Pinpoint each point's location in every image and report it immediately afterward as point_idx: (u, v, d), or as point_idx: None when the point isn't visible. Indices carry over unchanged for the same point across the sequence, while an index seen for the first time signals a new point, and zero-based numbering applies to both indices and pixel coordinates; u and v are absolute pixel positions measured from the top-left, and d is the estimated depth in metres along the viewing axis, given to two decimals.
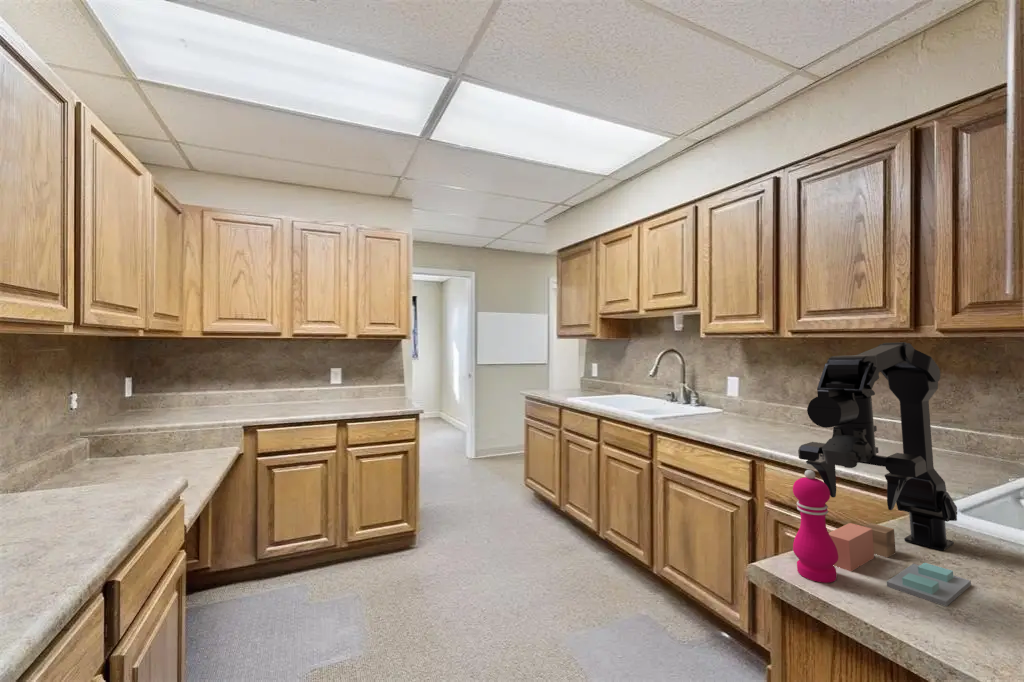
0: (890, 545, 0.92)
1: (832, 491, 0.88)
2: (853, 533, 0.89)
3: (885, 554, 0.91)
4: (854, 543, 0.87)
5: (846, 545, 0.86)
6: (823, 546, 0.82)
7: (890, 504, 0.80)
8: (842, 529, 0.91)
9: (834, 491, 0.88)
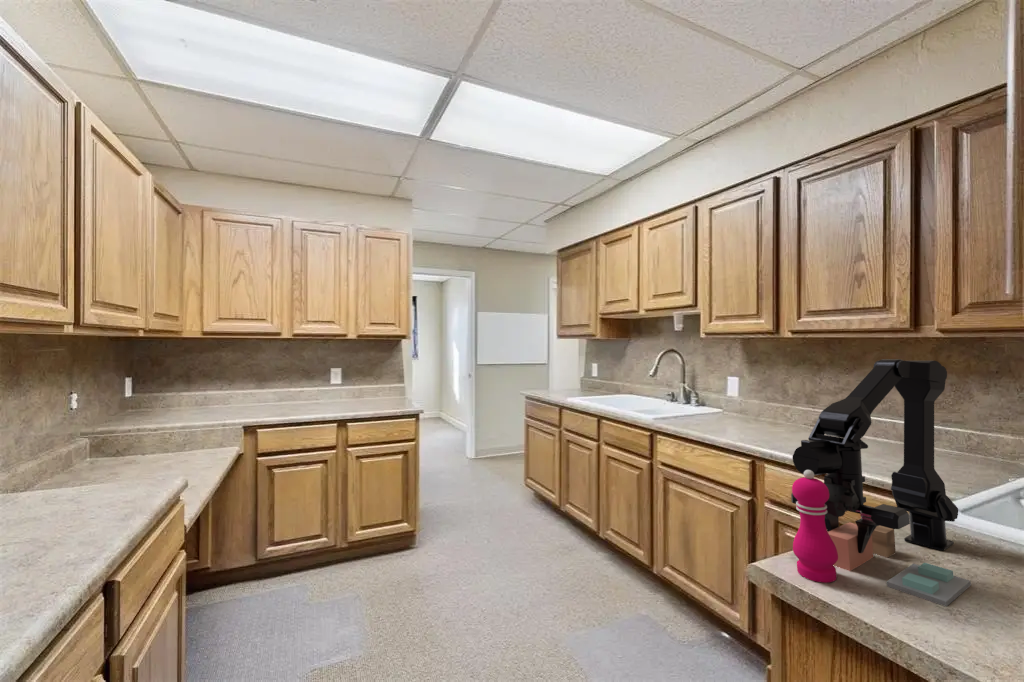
0: (890, 545, 0.92)
1: None
2: (852, 532, 0.89)
3: (885, 554, 0.91)
4: (853, 542, 0.87)
5: (845, 544, 0.86)
6: (823, 546, 0.82)
7: (860, 548, 0.88)
8: (841, 528, 0.91)
9: None
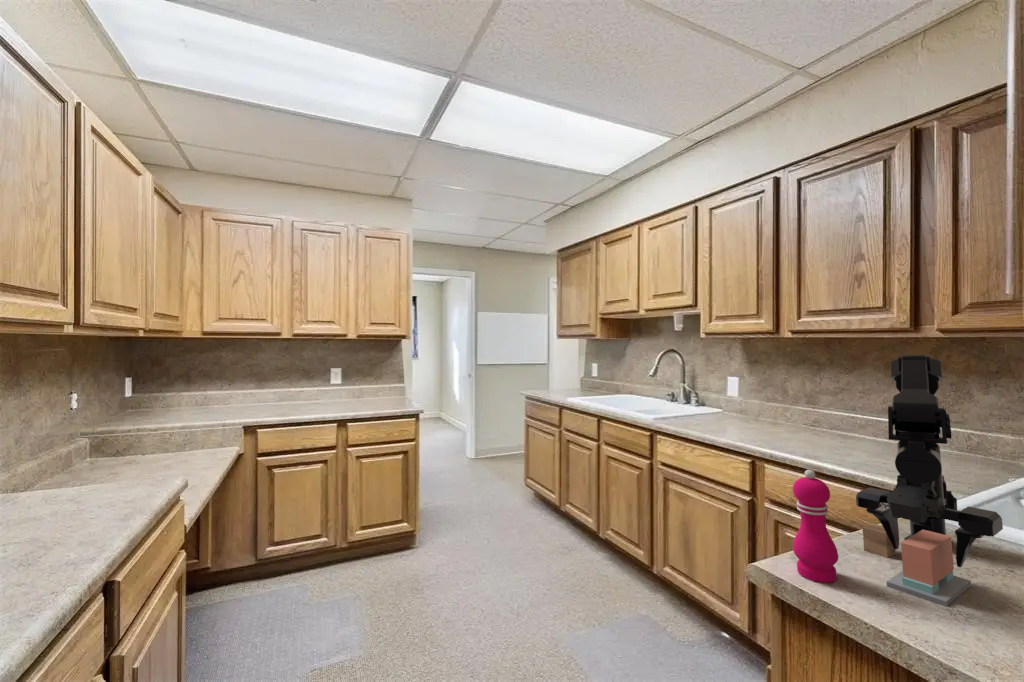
0: (891, 545, 0.92)
1: (895, 543, 0.83)
2: (931, 541, 0.79)
3: (885, 554, 0.91)
4: (935, 553, 0.77)
5: (927, 556, 0.76)
6: (824, 546, 0.82)
7: (959, 561, 0.76)
8: (918, 537, 0.81)
9: (897, 542, 0.84)
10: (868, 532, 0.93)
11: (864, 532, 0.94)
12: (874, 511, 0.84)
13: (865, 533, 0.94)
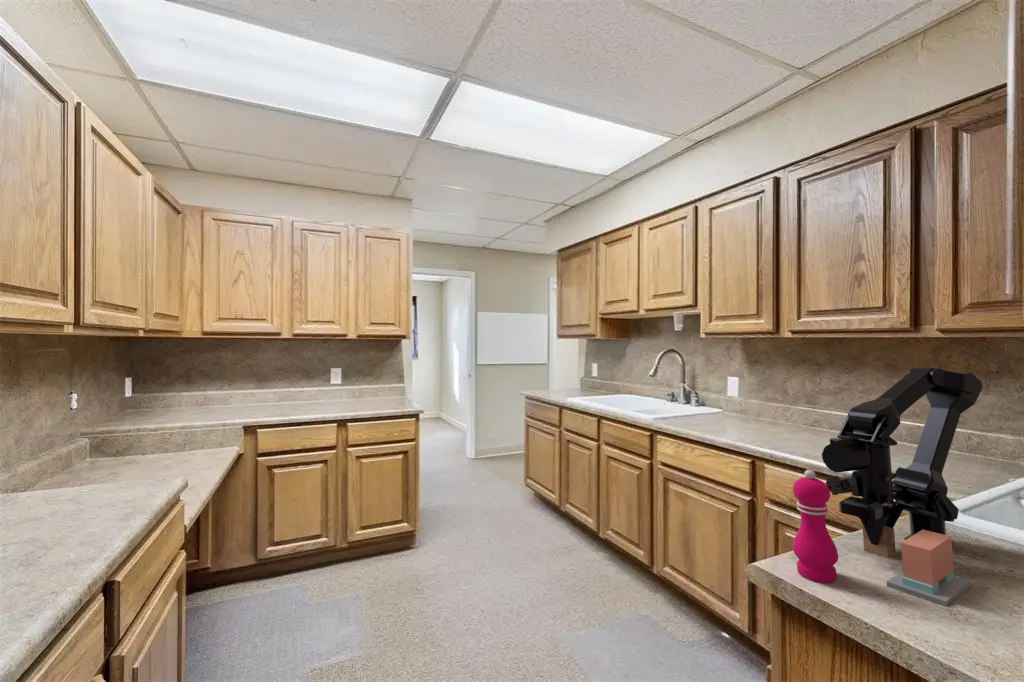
0: (890, 545, 0.92)
1: None
2: (931, 541, 0.79)
3: (885, 554, 0.91)
4: (935, 553, 0.77)
5: (927, 556, 0.76)
6: (824, 546, 0.82)
7: (870, 538, 0.93)
8: (918, 537, 0.81)
9: None
10: None
11: (864, 532, 0.94)
12: None
13: (865, 533, 0.94)
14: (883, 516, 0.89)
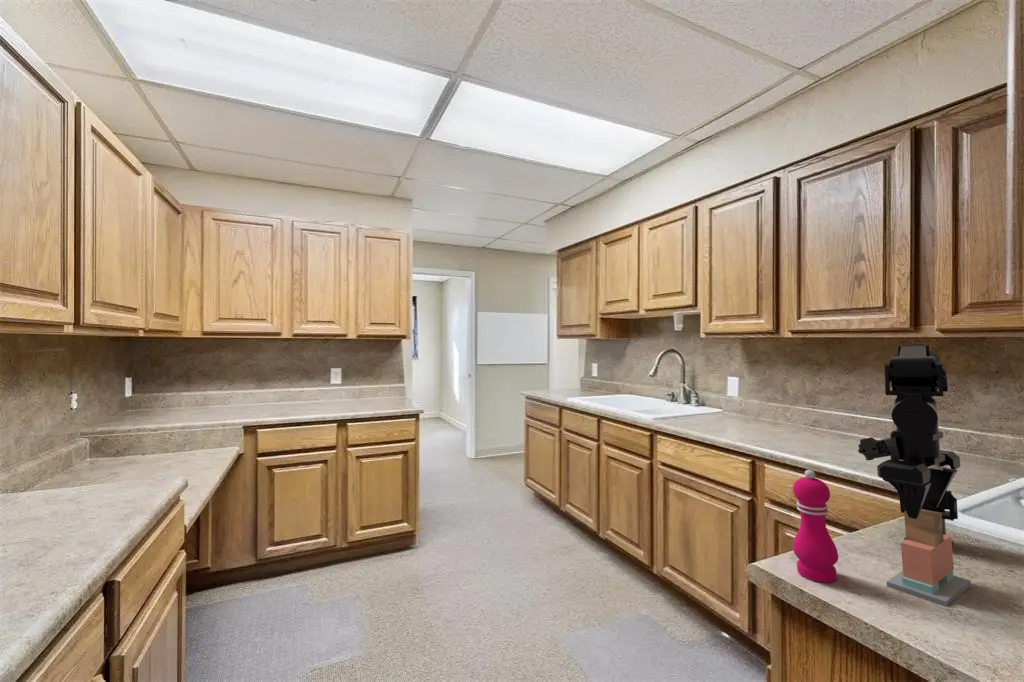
0: (938, 532, 0.78)
1: (928, 499, 0.83)
2: None
3: (932, 543, 0.78)
4: (935, 553, 0.77)
5: (927, 556, 0.76)
6: (824, 546, 0.82)
7: (907, 511, 0.78)
8: None
9: (933, 501, 0.82)
10: None
11: (906, 517, 0.81)
12: None
13: (907, 518, 0.81)
14: (925, 483, 0.75)
